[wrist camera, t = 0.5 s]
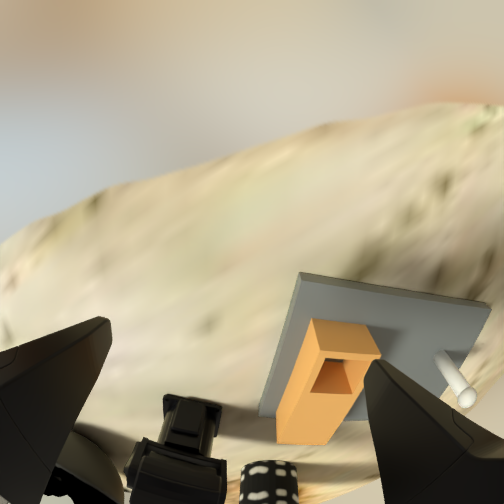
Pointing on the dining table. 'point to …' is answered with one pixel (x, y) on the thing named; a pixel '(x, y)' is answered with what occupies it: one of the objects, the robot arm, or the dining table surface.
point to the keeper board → (383, 335)
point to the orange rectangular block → (324, 381)
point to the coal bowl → (85, 474)
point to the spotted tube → (269, 483)
